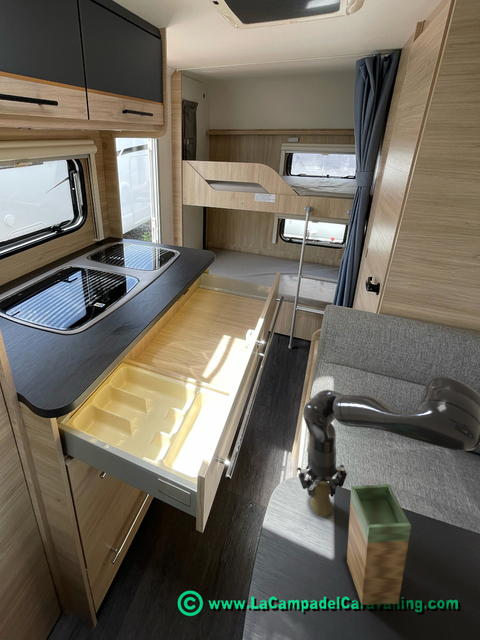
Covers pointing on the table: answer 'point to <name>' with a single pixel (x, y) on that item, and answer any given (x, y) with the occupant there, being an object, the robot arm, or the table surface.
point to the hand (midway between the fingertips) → (321, 493)
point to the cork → (321, 499)
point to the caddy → (377, 543)
